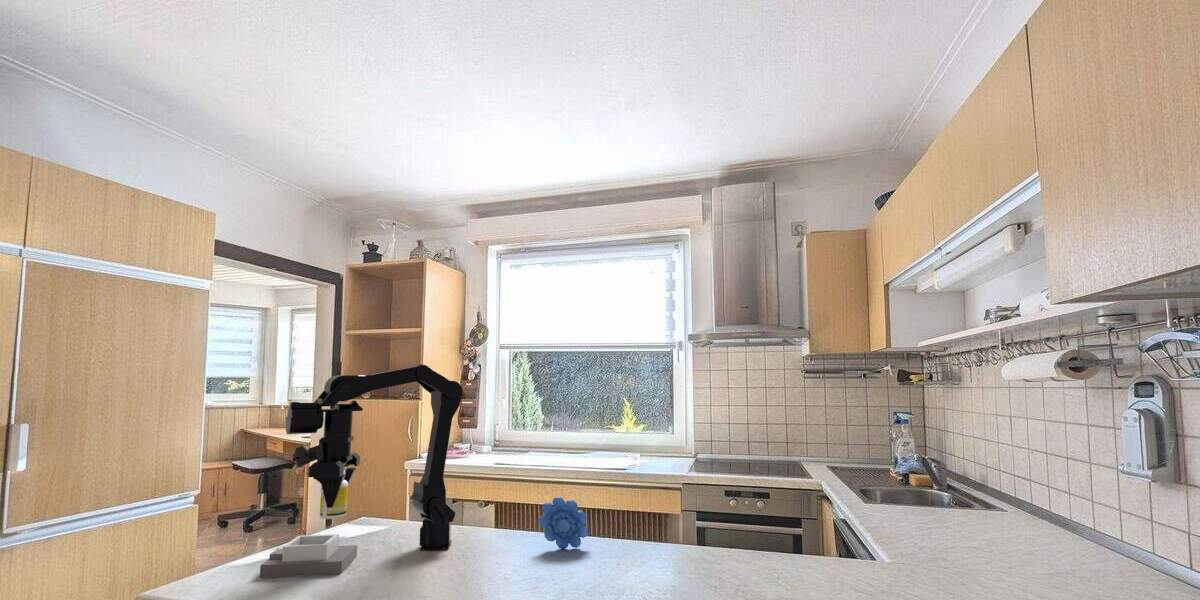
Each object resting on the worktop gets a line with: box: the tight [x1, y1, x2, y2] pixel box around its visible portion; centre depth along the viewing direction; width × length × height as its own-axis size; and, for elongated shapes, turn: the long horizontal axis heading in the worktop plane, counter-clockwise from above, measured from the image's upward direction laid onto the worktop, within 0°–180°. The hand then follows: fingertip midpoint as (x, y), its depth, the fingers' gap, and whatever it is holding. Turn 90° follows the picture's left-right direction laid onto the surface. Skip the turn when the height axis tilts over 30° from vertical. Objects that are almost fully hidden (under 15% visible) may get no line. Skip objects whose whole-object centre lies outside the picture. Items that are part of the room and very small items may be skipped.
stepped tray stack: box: [259, 533, 358, 579], centre depth 131 cm, size 16×12×6 cm
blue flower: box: [538, 495, 589, 550], centre depth 141 cm, size 12×7×12 cm, turn 92°
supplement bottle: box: [319, 470, 349, 520], centre depth 132 cm, size 5×5×10 cm
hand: (333, 504), depth 132 cm, fingers closed on supplement bottle, 5 cm apart
